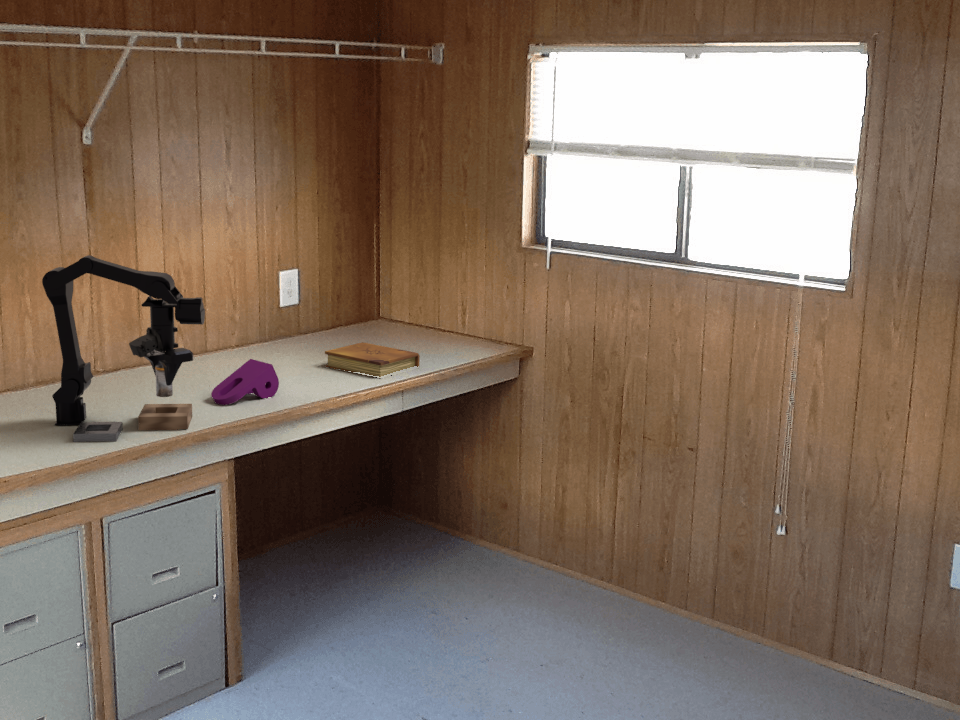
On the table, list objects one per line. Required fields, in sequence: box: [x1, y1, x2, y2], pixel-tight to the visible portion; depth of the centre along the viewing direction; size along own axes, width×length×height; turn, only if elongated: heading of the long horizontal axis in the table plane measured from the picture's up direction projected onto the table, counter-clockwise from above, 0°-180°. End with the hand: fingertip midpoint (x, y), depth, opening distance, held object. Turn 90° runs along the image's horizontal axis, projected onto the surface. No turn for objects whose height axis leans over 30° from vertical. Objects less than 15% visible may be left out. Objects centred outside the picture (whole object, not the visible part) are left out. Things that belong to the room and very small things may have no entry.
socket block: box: [137, 403, 193, 431], centre depth 292 cm, size 12×12×4 cm
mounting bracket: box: [210, 358, 280, 406], centre depth 318 cm, size 9×8×18 cm
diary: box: [324, 342, 420, 377], centre depth 357 cm, size 23×19×6 cm
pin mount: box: [72, 421, 124, 443], centre depth 280 cm, size 10×10×2 cm
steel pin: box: [155, 363, 174, 398], centre depth 289 cm, size 4×4×8 cm
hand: (164, 383), depth 290 cm, fingers closed on steel pin, 4 cm apart
